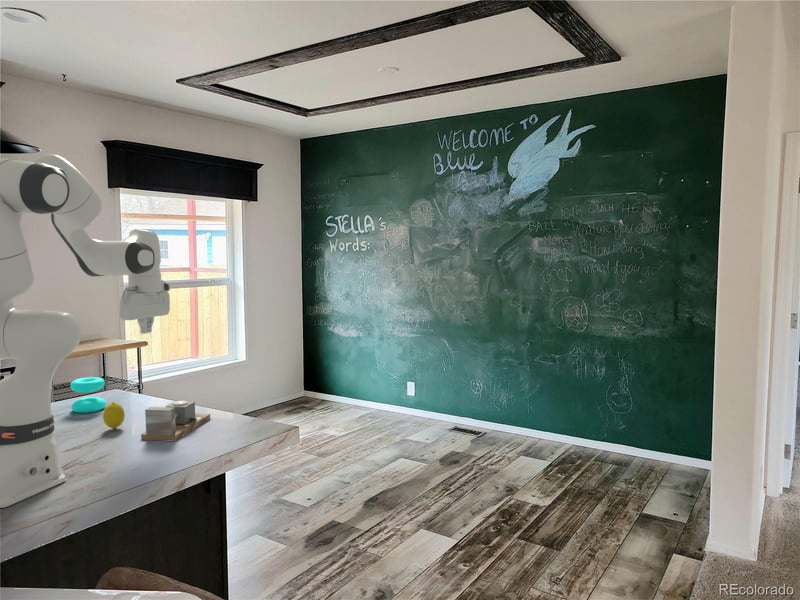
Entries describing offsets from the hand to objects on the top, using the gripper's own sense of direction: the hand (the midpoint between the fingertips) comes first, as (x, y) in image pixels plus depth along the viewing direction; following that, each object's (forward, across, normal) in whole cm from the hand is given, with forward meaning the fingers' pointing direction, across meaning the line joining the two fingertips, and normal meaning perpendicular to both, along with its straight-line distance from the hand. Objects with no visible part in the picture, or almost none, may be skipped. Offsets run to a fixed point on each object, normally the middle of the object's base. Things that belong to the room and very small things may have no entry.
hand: (146, 333), depth 171 cm
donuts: (+27, +14, +29) cm, 42 cm away
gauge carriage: (+26, 0, -11) cm, 28 cm away
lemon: (+28, -4, +8) cm, 30 cm away
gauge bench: (+28, -1, -10) cm, 29 cm away
